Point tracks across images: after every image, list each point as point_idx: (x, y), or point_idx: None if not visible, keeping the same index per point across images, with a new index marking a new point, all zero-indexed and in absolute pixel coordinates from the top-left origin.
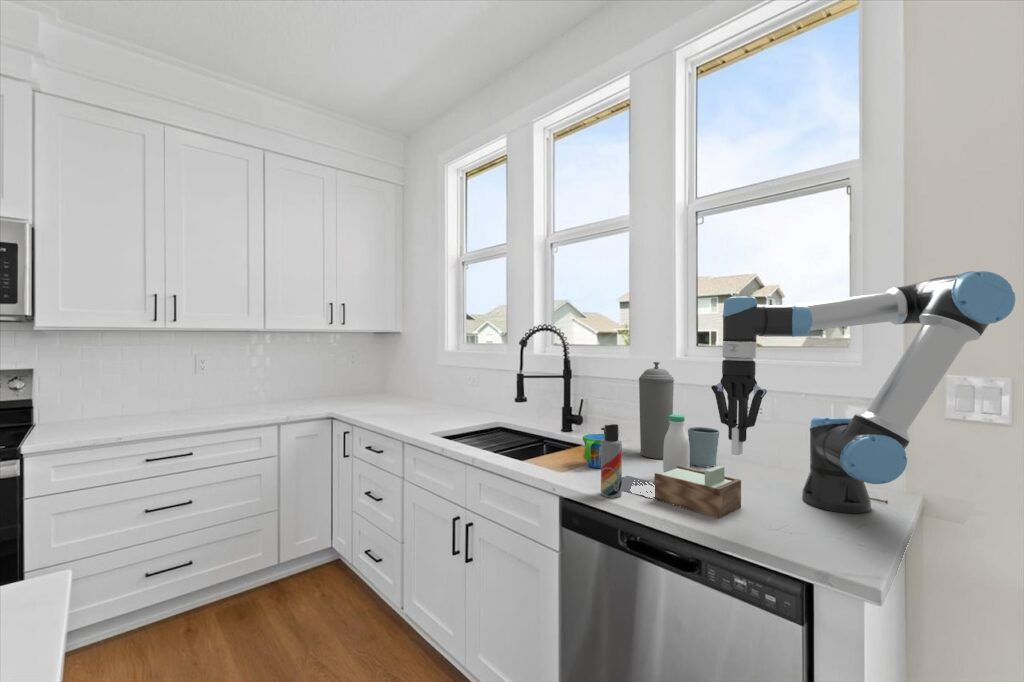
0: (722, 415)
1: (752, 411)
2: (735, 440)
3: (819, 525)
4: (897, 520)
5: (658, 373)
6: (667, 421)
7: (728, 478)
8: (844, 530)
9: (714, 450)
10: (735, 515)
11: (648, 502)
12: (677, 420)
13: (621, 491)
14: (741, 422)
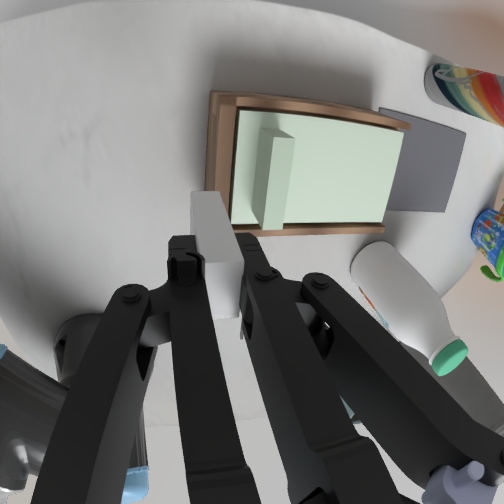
0: (342, 310)
1: (86, 389)
2: (208, 222)
3: (52, 230)
4: (22, 340)
5: None
6: None
7: (247, 229)
8: (20, 240)
9: None
10: (189, 142)
11: (373, 83)
12: (448, 348)
13: (430, 89)
14: (182, 301)
